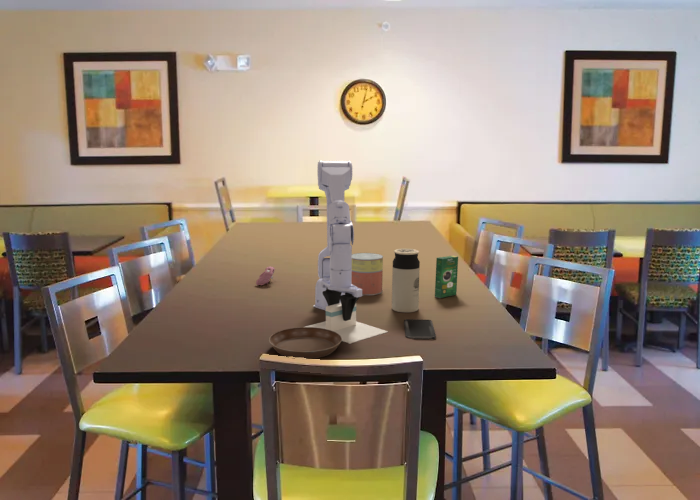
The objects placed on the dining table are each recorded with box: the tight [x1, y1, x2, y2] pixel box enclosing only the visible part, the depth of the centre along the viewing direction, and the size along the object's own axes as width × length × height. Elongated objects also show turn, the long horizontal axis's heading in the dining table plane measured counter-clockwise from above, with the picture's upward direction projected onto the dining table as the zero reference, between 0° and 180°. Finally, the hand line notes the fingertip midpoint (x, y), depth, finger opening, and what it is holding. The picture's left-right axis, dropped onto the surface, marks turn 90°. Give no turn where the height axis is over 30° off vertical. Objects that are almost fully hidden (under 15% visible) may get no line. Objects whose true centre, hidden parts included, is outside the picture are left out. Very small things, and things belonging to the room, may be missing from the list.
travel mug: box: [391, 248, 421, 314], centre depth 185 cm, size 8×8×18 cm
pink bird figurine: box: [255, 266, 276, 286], centre depth 219 cm, size 10×5×7 cm, turn 0°
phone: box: [403, 318, 437, 340], centre depth 167 cm, size 8×1×15 cm
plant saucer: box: [268, 326, 343, 359], centre depth 152 cm, size 18×18×3 cm
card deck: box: [325, 303, 357, 331], centre depth 168 cm, size 2×9×6 cm, turn 133°
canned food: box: [351, 252, 384, 296], centre depth 208 cm, size 11×11×12 cm
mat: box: [304, 320, 389, 345], centre depth 167 cm, size 18×14×1 cm
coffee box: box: [434, 255, 459, 299], centre depth 202 cm, size 8×3×13 cm, turn 129°
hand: (340, 318), depth 168 cm, fingers open, 4 cm apart
